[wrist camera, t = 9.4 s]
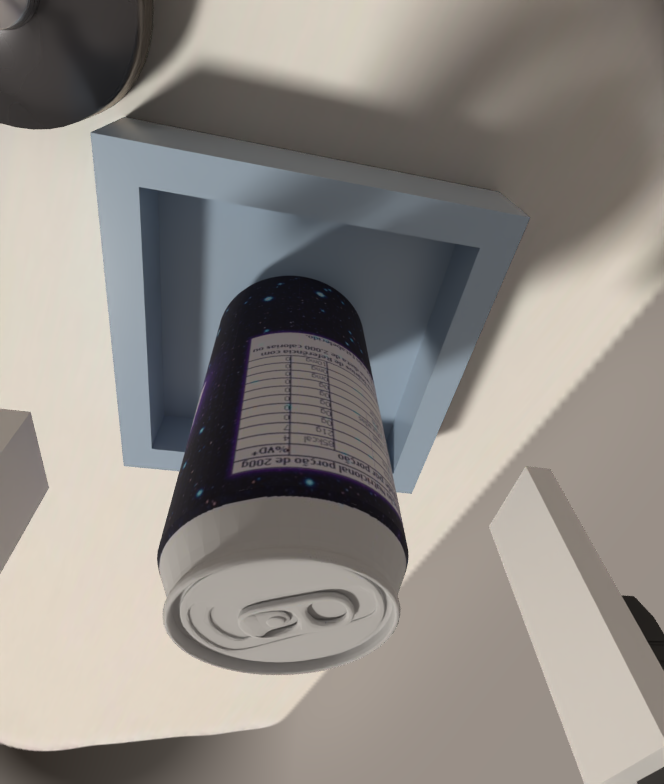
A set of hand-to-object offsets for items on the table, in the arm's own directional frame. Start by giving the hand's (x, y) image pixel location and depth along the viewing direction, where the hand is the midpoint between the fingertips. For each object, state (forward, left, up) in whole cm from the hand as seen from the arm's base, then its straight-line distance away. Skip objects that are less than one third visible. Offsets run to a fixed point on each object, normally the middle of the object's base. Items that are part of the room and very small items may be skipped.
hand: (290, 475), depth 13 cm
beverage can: (0, 0, -8) cm, 8 cm away
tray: (0, 0, -9) cm, 9 cm away
